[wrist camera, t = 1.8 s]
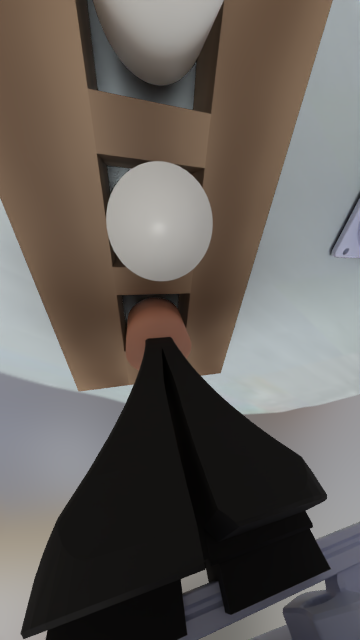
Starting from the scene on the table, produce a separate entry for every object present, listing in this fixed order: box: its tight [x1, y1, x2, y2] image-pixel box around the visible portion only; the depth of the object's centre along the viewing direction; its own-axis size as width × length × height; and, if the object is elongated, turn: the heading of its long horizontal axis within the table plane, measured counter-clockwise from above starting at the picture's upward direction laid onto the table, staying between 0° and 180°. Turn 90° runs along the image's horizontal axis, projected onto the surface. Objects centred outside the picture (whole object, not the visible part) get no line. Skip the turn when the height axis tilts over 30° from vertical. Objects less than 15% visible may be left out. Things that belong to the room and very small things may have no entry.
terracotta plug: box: [126, 297, 192, 370], centre depth 11 cm, size 4×4×3 cm
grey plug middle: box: [106, 161, 213, 281], centre depth 7 cm, size 4×4×3 cm
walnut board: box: [0, 0, 333, 391], centre depth 10 cm, size 12×24×3 cm, turn 175°
